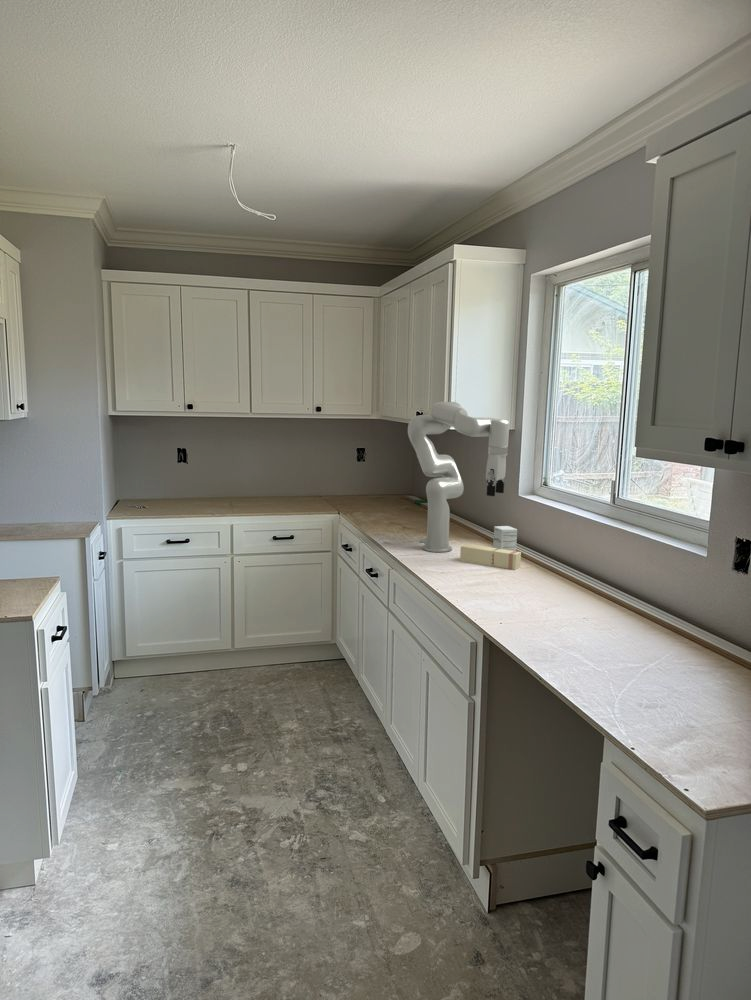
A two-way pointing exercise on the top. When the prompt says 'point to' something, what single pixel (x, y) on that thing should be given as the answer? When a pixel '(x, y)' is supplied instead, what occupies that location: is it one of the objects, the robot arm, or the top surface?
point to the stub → (507, 559)
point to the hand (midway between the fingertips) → (495, 494)
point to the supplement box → (505, 538)
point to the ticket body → (477, 554)
